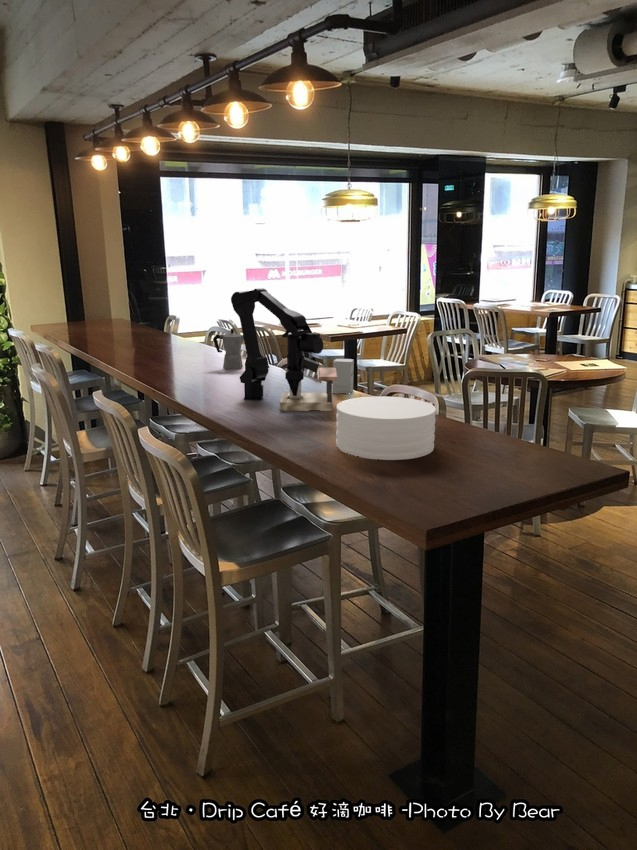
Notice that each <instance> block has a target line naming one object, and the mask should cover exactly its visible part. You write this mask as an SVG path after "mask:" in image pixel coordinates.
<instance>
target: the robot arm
mask: <svg viewBox="0 0 637 850" xmlns="http://www.w3.org/2000/svg"><path fill="white" fill-rule="evenodd" d="M257 302H258V303H259V304H261V305H262V306H263V307H264V308H265V309H266V310H268V311H269V312H270V313H272V314H273V315H274V316H275V317H276V318H277V319H278V320H279V323H280V325H281V326H282V328H283V329H284V330H285V332H284V333H283V334H282V335H281V337H282V338H284V339H285V338H286V371H285V374H284V375H285V376H284V378H285V380H286V381H287V384H288V385H289V390H290V389H291V391H292V393H293V396H297V391H298V386H299V382H300V381H301V382H302V381H303V380H304V378H305V377H304V376H305V373H304V372H305V370H308V371H311V372H313V373H316V374H317V372H318V371H319V368H320V362H319V361H317V358H316V356H311V357H310V358H308V357H305V353H306V354H307V353H310V354H315V355H318V354H319V355H320V354H321V353H322V352H323V349H324V346H325V345H324V342H323V339H322V337H321V335H320V333H313V331H312V329H311V328H310V326H309V324H308V322H307V318H306V317H305V316H304V315H303V314H302V313H300V312H297V311H296V310H292V309H289V308H288V307H286V305H284V303H282V302H280V301H279V300H278V299H277V298H275V297H274V295H272V294H271V293H270V292H268V290H267V289H266V288H263V287H261V288H254V289H252V290H246V291H245V290H244V291H235V292H234V293H232V295H231V297H230V303H231V305H232V307H233V311H234V312H235V314H236V315H237V316H238V318H239V320H240V326H241V332H242V335H243V337H244V341H243V343H244V347H245V353H246V358H245V362H244V371H243V373H242V374H241V375H240V376H239V380H240V383H242V384H244V387H243V389H244V397H243V399H244V400H262V399H263V397H264V385H263V382H265V381H266V379H267V375H268V374H269V371H270V370H269V369H270V366H269V363H268V362H269V361H268V357H267V356H266V357H265V356H263V355H262V354H261V350H260V345H259V340H258V334H257V330H256V329H257V328H256V324H255V320H254V312H255V308H256V303H257Z"/></svg>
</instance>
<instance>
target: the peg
mask: <svg viewBox="0 0 637 850" xmlns="http://www.w3.org/2000/svg"><path fill="white" fill-rule="evenodd" d="M289 393H290V399H301V393H302V380H301V381H300V382H299V386H298V391H297V396H293V393H292V391H291V389H290V388H289Z"/></svg>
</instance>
